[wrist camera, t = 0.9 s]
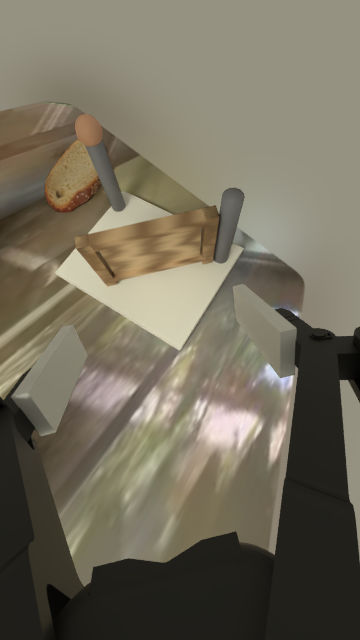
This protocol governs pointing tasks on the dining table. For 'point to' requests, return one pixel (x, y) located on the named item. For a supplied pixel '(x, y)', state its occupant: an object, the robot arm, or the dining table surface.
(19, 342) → the dining table surface
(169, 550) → the dining table surface
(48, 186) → the slice of bread
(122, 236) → the gate
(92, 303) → the dining table surface
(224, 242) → the gate frame
